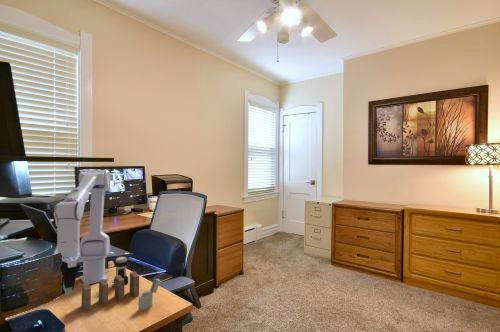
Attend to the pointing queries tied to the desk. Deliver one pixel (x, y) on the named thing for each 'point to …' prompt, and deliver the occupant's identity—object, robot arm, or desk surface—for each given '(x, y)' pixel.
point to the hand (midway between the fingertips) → (67, 284)
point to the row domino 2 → (103, 292)
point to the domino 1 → (67, 289)
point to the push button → (121, 269)
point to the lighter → (148, 296)
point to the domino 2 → (134, 284)
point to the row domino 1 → (86, 297)
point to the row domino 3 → (119, 288)
